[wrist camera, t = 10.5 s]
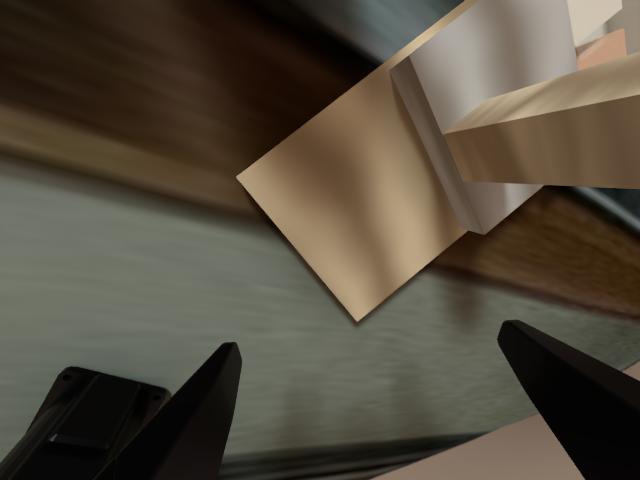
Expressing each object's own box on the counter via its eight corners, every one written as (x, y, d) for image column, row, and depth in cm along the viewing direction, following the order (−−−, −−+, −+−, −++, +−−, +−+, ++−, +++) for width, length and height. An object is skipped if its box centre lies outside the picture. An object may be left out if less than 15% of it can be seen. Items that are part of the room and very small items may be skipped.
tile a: (527, 67, 18) (567, 52, 16) (509, -6, 16) (551, -36, 14) (575, 28, 18) (622, 8, 16) (563, -48, 16) (614, -84, 14)
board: (350, 311, 21) (357, 321, 19) (237, 176, 15) (235, 177, 14) (530, 163, 21) (549, 162, 20) (481, -12, 16) (502, -29, 15)
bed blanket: (462, 228, 19) (743, 304, 8) (389, 70, 15) (820, -255, 4) (559, 148, 20) (949, 118, 9) (519, -31, 15) (1269, -603, 4)
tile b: (545, 140, 20) (582, 136, 18) (531, 83, 19) (570, 70, 16) (587, 105, 21) (630, 96, 18) (578, 45, 19) (624, 27, 16)
